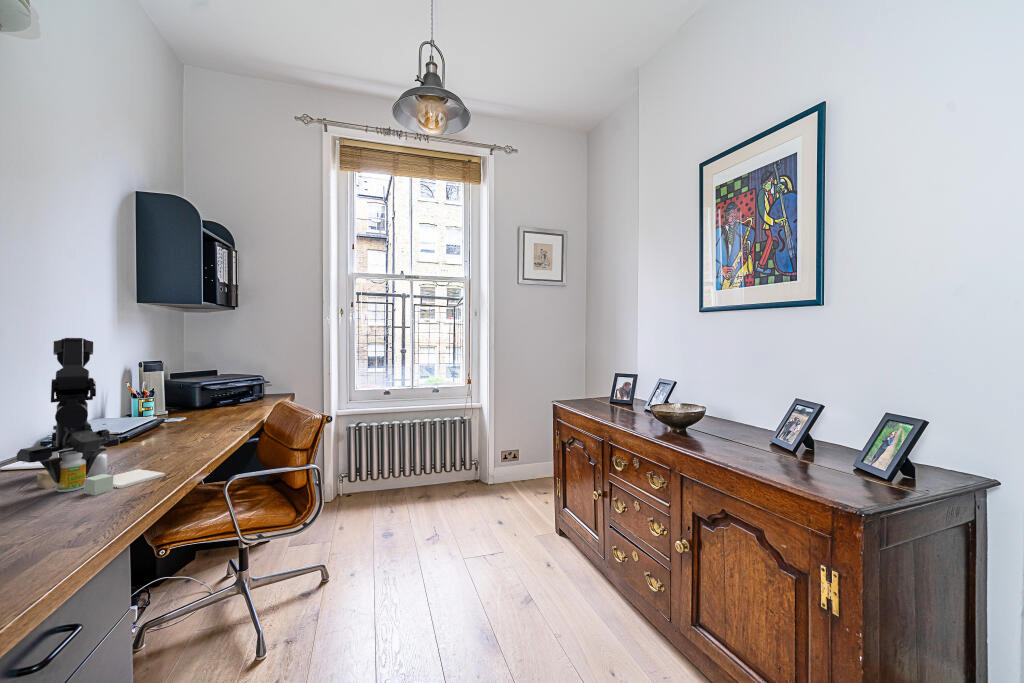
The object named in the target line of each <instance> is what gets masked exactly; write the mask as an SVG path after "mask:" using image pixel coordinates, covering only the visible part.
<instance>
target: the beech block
mask: <svg viewBox="0 0 1024 683" xmlns="http://www.w3.org/2000/svg"><path fill="white" fill-rule="evenodd" d="M36 475H37V476H36V478H37V479H36V480H37V481H36V482H37V485H36V486H37V488H40V489H41V488H42V489H46V490H47V489H51V488H55V487H56V488H57V483H55V482H54V480H53V479H52V477H51V476H50V474H49V473H48V471H47V470H42V471H39V472H37V474H36Z"/></svg>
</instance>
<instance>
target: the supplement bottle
mask: <svg viewBox="0 0 1024 683" xmlns="http://www.w3.org/2000/svg"><path fill="white" fill-rule="evenodd" d="M82 455H83V454H82V453H78V452H76V451H70V452H65V453H62V454H61V458H62V461H61V462H60V482H59V483H57V486H56V492H59V493H68V492H69V493H70V492H74V491H79V490H81V488H82V489H84V479H85V478H87V476H86V460H85V459H81V457H82Z"/></svg>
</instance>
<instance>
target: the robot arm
mask: <svg viewBox="0 0 1024 683" xmlns="http://www.w3.org/2000/svg"><path fill="white" fill-rule="evenodd" d="M52 353H53V356H56V361H57V363H59V365H60V366H61V367H62V368H59V369H58V370H57V371H56V372H55V378H52V379H51V384H50V387H51V389H50V403H57V404H56V411H55V415H54V419H55V422H56V425H53V426H52V428H53V430H54V431H55V432H52V434H51V447H48V446H43V445H37V446H31V447H25V448H21V449H19V451H18V452H17V453H16V462H24V463H29V464H31V463H36V462H37V463H38V462H39V463H40V464H41V465H42V466H43V467H44V468H45V471H48V473H49V474H50V476H51V477H52V479H53V480H54V482H55V483H59V482H60V462H61V461H62V458H61V454H62V453H65V452H70V451H76V452H78V453H82V454H83V455H82V457H81V459H85V460H86V477H88V473H89V471H90V469H91V467H92V464H93V462H94V461H95V459H96V457H97V456H98V455H99V454H102V452H105V451H107V448H113V447H119V446H120V437H119V435H118V436H117V435H114V434H111V432H110V430H108V429H107V428H106V429H100V430H99V429H98V430H95V431H94V430H93V428H92V426H91V424H90V423H89V422H88V416H89V413H88V412H89V411H88V404H89V403H88V401H93V400H94V397H96V396H97V385H96V384H97V383H96V381H95V379H94V378H93V377H90V370H88V369H87V368H85V366H87V364H88V363H89V362H90V360H91V355H92V356H93V355H94V341H92V340H88V339H86V338H83V337H64V338H61V339H58V340H54V341H53V352H52Z"/></svg>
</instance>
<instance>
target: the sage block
mask: <svg viewBox="0 0 1024 683" xmlns="http://www.w3.org/2000/svg"><path fill="white" fill-rule="evenodd" d="M113 476H114V475H112V474H108V473H107V474H101V475H97V476H93V477H89V478H88V477H86V478H85V479H84V488H83V490H84V492H83V493H84V495H89V494H90V496H97V495H102V494H104V492H105V493H108V491H109V492H112V491H114V487H113ZM111 490H112V491H111ZM101 493H102V494H101Z"/></svg>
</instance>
